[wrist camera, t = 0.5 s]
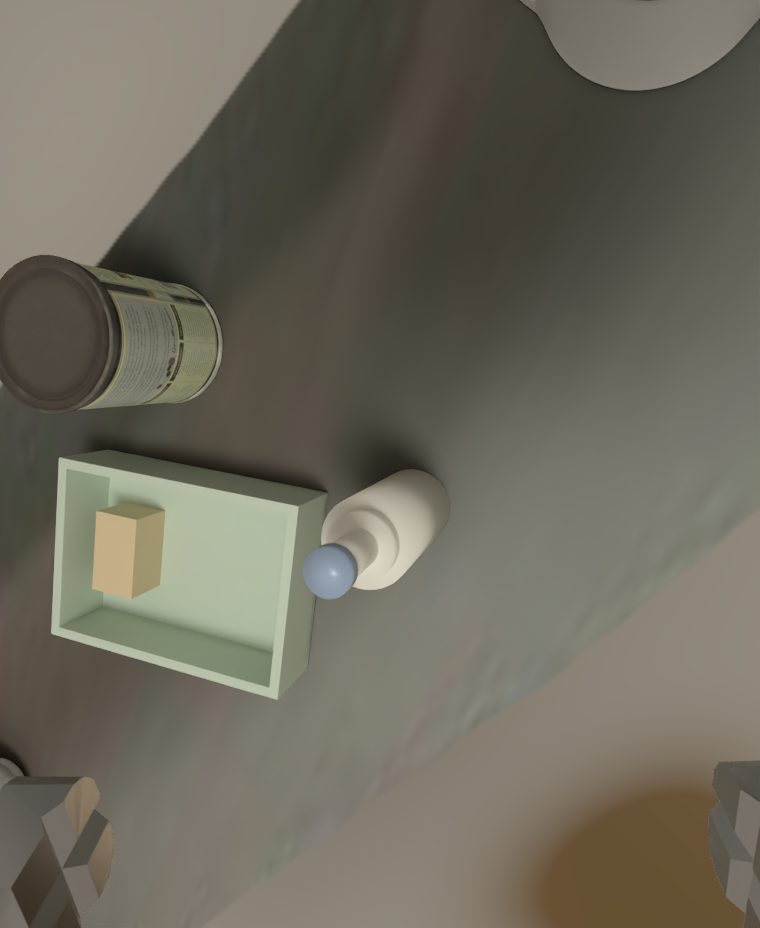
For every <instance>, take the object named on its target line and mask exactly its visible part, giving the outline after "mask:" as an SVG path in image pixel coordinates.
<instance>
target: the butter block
mask: <svg viewBox="0 0 760 928" xmlns="http://www.w3.org/2000/svg"><path fill="white" fill-rule="evenodd" d="M164 524H165V510H161V509H157V508H152V507H147V506H143V505H138V504H134V503H129V502H126V503H122V504H119V505H115V506H112V507H108V508H105V509H101V510H97V511H96V527H95V546H94V564H93V582H92V589H94V590H98V591H102V592H105V593H109V594H113V595H117V596H121V597H124V598H128V599H133V598H135V597H137V596H139V595H141V594H143V593H145V592H147V591H149V590H151V589H153V588H155V587H157V586H159V585H160V578H161V565H162V551H163V538H164Z"/></svg>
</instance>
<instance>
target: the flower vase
mask: <svg viewBox="0 0 760 928" xmlns="http://www.w3.org/2000/svg"><path fill="white" fill-rule="evenodd" d="M17 776H24V774H23V773H22V771H21V769H20V768H19V767H18V766H17V765H16V764H14V763H13V762H12V761H10V760H8V759H5V758H0V777H17Z"/></svg>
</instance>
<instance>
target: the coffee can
mask: <svg viewBox="0 0 760 928" xmlns="http://www.w3.org/2000/svg"><path fill="white" fill-rule="evenodd" d="M222 352H223V339H222V331H221V328H220V325H219V322H218V319H217V317H216V314H215V312H214V311H213V309H212V307H211V306H210V305H209V303H208V302H207V301H206V300H205V299H204V298H203V297H202V296H201V295H200V294H199V293H198V292H196V291H194V290H193V289H191V288H189V287H186V286H184V285H180V284H175V283H166V282H162V281H157V280H152V279H148V278H143V277H138V276H134V275H129V274H124V273H119V272H115V271H110V270H106V269H102V268H96V267H92V266H87V265H82V264H78V263H75V262H73V261H70V260H67V259H64V258H61V257H57V256H52V255H51V256H50V255H39V256H33V257H30V258H28V259H25V260H23V261H21V262H19V263H17V264H16V265H14V266H13V267H12V268H11V269H10V270H8V271H7V272H6V273H5V274H4V276H3V277H2V278H1V280H0V380H1V382H2V383H3V385H4V386H5V387H6V388H7V390H8V391H9V392H10V393H11V394H12V395H13V396H14V397H15V398H16V399H17V400H19V401H20V402H21V403H23V404H24V405H26V406H28V407H30V408H32V409H34V410H37V411H40V412H44V413H66V412H71V411H75V410H85V409H98V408H109V407H120V406H133V405H147V404H159V403H181V402H185V401H188V400H191V399H193V398H195V397H197V396H198V395H200V394H201V393H202V392H203V391H204V390H205V389H206V388H207V387H208V386H209V385H210V384H211V382H212V381H213V380H214V378H215V376H216V374H217V372H218V369H219V366H220V363H221V359H222Z"/></svg>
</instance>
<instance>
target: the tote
mask: <svg viewBox="0 0 760 928" xmlns="http://www.w3.org/2000/svg"><path fill="white" fill-rule="evenodd" d="M327 499H328V492H323V491H318V490H313V489H307V488H302V487H297V486H292V485H287V484H282V483H277V482H272V481H267V480H261V479H256V478H251V477H246V476H241V475H236V474H231V473H226V472H221V471H215V470H210V469H205V468H200V467H195V466H190V465H185V464H180V463H175V462H169V461H164V460H159V459H154V458H149V457H144V456H139V455H134V454H129V453H123V452H118V451H113V450H103V451H96V452H90V453H84V454H78V455H71V456H65V457H59V470H58V492H57V515H56V538H55V561H54V583H53V606H52V629H51V634H54V635H57V636H61V637H64V638H68V639H71V640H74V641H78V642H81V643H85V644H88V645H92V646H95V647H98V648H102V649H105V650H109V651H112V652H115V653H119V654H122V655H126V656H129V657H133V658H136V659H139V660H143V661H146V662H150V663H153V664H156V665H160V666H163V667H167V668H170V669H174V670H177V671H180V672H184V673H187V674H191V675H194V676H197V677H201V678H204V679H208V680H211V681H215V682H218V683H221V684H225V685H228V686H232V687H235V688H238V689H242V690H245V691H249V692H252V693H256V694H259V695H262V696H266V697H269V698H273V699H276V700H278V699H279V698H280V697H281V696H282V695H283V693H284V692H285V691H286V690H287V689H288V688H289V687H290V686H291V685H292V684H293V683H294V682H295V681H296V680H297V679H298V677H299V676H300V675H301V674H302V673H303V672H304V671H305V670H306V669H307V668H308V662H309V653H310V645H311V636H312V628H313V619H314V610H315V602H316V595H315V594H314V593H313V592H311V591H310V589H309V588H308V587H307V585H306V583H305V581H304V578H303V573H302V569H303V563H304V561H305V559H306V557H307V556H308V555H309V554H310V553H311V552H312V551H314V550H315V549H317V548H318V547H320V546H321V532H322V527H323V524H324V521H325V516H326V508H327ZM126 502H129V503H134V504H138V505H143V506H147V507H152V508H157V509H161V510H165V524H164V538H163V551H162V565H161V578H160V585H159V586H157V587H155V588H153V589H151V590H149V591H147V592H145V593H143V594H141V595H139V596H137V597H135V598H133V599H128V598H124V597H121V596H117V595H113V594H109V593H105V592H102V591H98V590H94V589H92V582H93V564H94V546H95V527H96V511H97V510H101V509H105V508H108V507H112V506H115V505H119V504H122V503H126Z"/></svg>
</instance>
